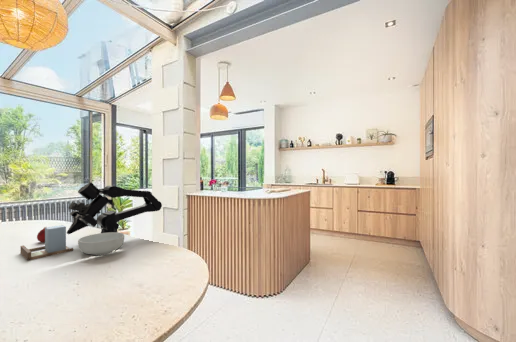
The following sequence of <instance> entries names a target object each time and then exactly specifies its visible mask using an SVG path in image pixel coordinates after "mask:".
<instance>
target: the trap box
mask: <svg viewBox="0 0 516 342" xmlns="http://www.w3.org/2000/svg"><path fill="white" fill-rule="evenodd" d="M39 250H40V251H39ZM73 251H74V247H71V248H70V247H68V246H67V245H66V249H65V250H60V251H56V252H51V253H47V252H46V251H45V245H42V246H37V247H33V248H27V247H26V246H25V245H23V244H22V245H20V254H21V255H22V257H24V259H26V260H27V261H31V260H37V259H40V258H46V257H49V256H50V257H51V256H55V255H59V254H64V253H68V252H69V253H70V252H73Z"/></svg>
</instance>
